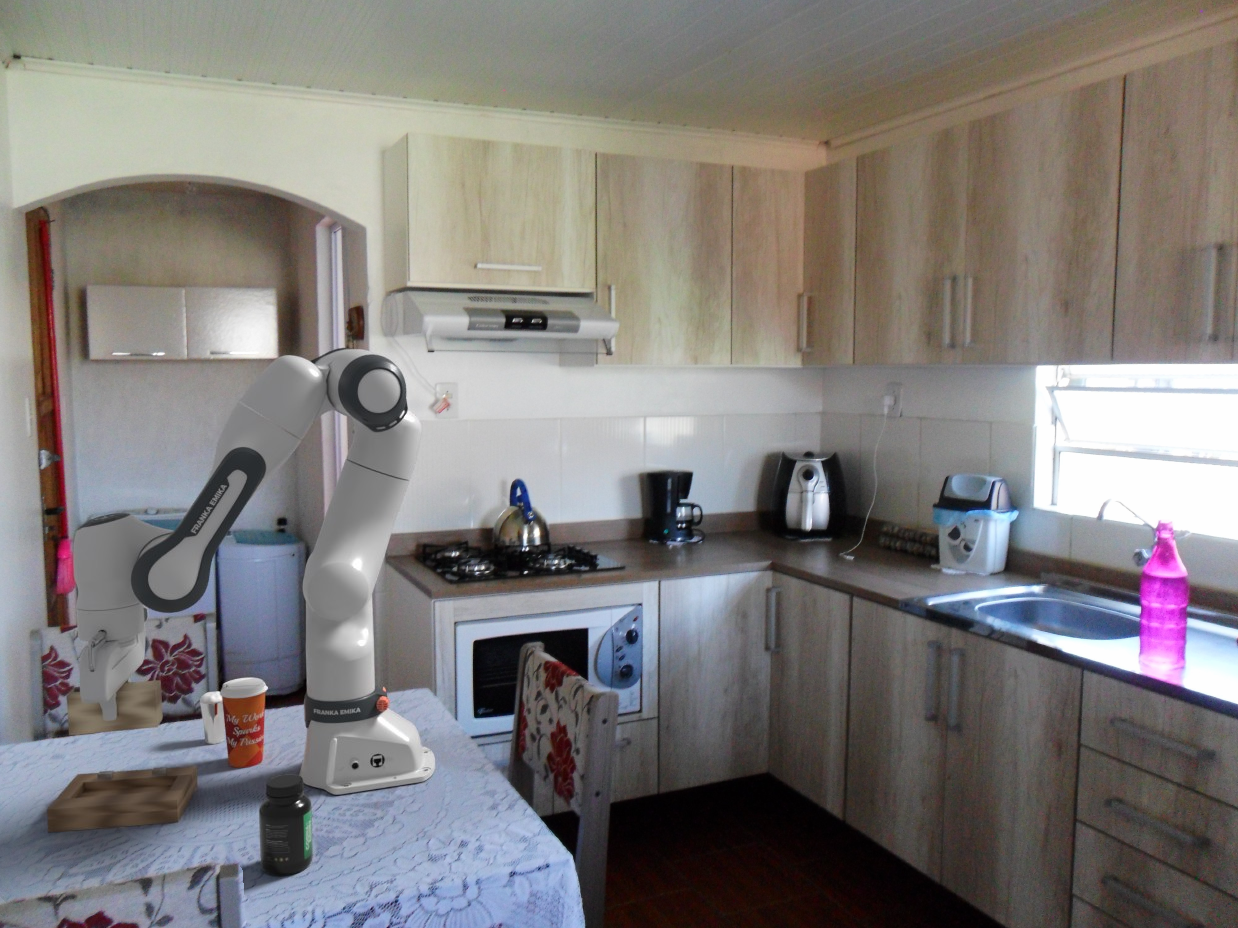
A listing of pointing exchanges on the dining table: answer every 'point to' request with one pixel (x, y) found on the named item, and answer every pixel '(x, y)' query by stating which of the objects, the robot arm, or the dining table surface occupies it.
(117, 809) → the frame
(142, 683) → the door
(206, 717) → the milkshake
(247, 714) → the paper cup
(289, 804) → the supplement bottle
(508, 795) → the dining table surface
